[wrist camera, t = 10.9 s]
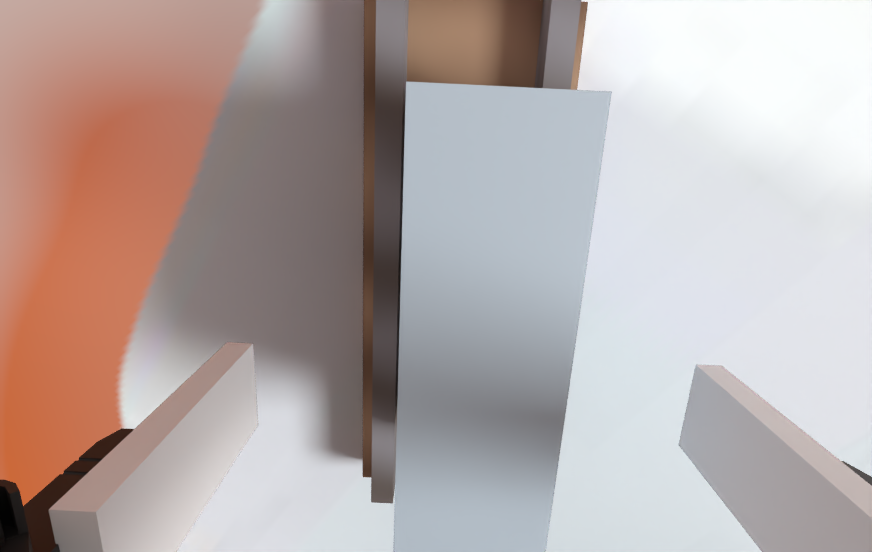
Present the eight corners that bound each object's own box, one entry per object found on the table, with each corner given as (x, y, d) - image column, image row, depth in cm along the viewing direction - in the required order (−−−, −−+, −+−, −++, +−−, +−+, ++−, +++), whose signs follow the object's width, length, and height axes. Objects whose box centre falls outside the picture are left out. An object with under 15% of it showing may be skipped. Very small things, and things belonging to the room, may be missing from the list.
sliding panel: (484, 409, 27) (527, 677, 14) (415, 406, 27) (390, 672, 14) (510, 116, 23) (612, 91, 9) (426, 112, 23) (406, 81, 9)
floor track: (523, 467, 30) (534, 509, 27) (366, 460, 30) (357, 501, 27) (578, 10, 23) (602, -12, 19) (369, 0, 23) (356, -24, 19)
